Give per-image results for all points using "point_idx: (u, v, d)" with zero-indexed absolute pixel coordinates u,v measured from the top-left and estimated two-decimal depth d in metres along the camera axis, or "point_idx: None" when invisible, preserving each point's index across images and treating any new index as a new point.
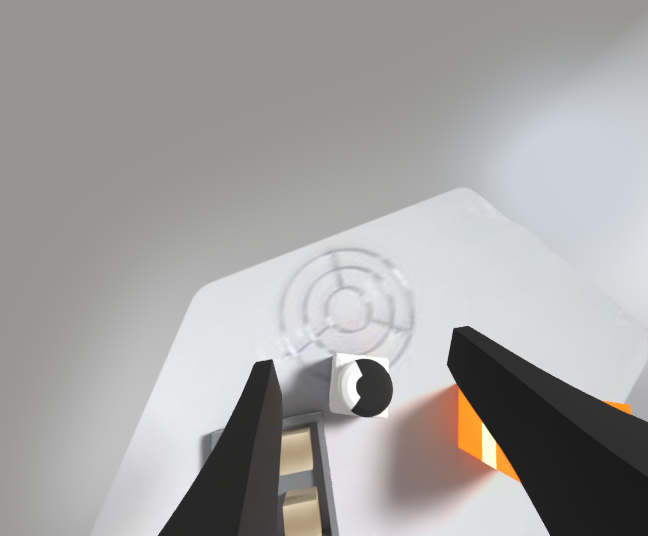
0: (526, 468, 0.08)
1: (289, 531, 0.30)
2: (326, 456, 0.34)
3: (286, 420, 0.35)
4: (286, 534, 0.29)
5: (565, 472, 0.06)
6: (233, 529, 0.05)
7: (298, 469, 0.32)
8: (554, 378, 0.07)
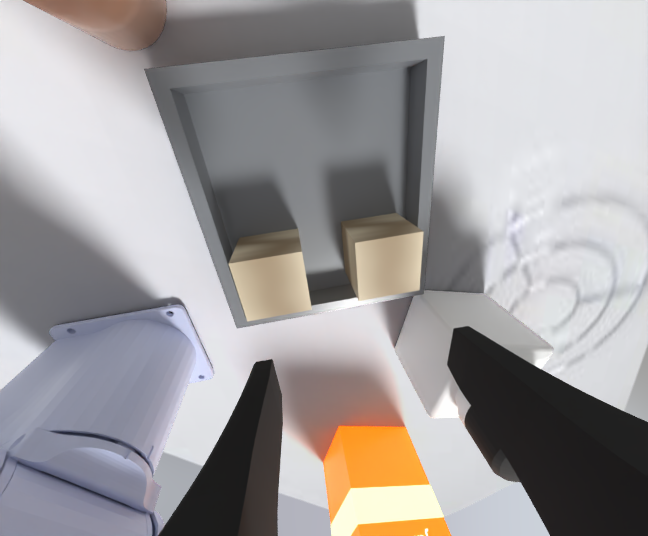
0: (526, 468, 0.08)
1: (260, 267, 0.14)
2: (358, 304, 0.19)
3: (426, 233, 0.17)
4: (256, 262, 0.14)
5: (565, 472, 0.06)
6: (233, 529, 0.05)
7: (361, 277, 0.16)
8: (554, 378, 0.07)
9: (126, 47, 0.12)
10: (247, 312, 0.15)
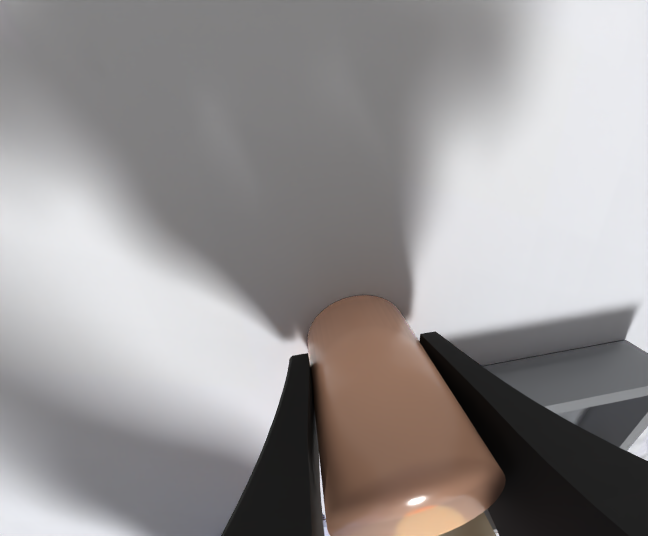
0: None
1: None
2: None
3: None
4: None
5: (514, 483, 0.06)
6: (305, 513, 0.05)
7: None
8: (509, 387, 0.07)
9: None
10: None
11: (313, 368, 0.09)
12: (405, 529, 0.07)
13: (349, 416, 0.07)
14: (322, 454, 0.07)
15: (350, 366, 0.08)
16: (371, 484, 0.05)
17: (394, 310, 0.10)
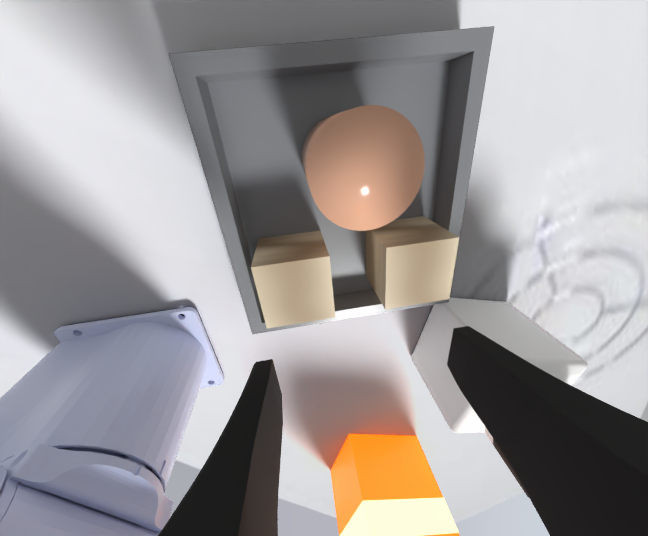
0: (526, 468, 0.08)
1: (284, 271, 0.13)
2: (380, 311, 0.18)
3: None
4: (280, 266, 0.13)
5: (565, 472, 0.06)
6: (233, 529, 0.05)
7: (390, 284, 0.15)
8: (554, 378, 0.07)
9: None
10: (267, 319, 0.15)
11: (303, 154, 0.13)
12: (364, 204, 0.10)
13: (320, 128, 0.10)
14: (306, 163, 0.10)
15: (324, 121, 0.11)
16: (329, 131, 0.09)
17: None
